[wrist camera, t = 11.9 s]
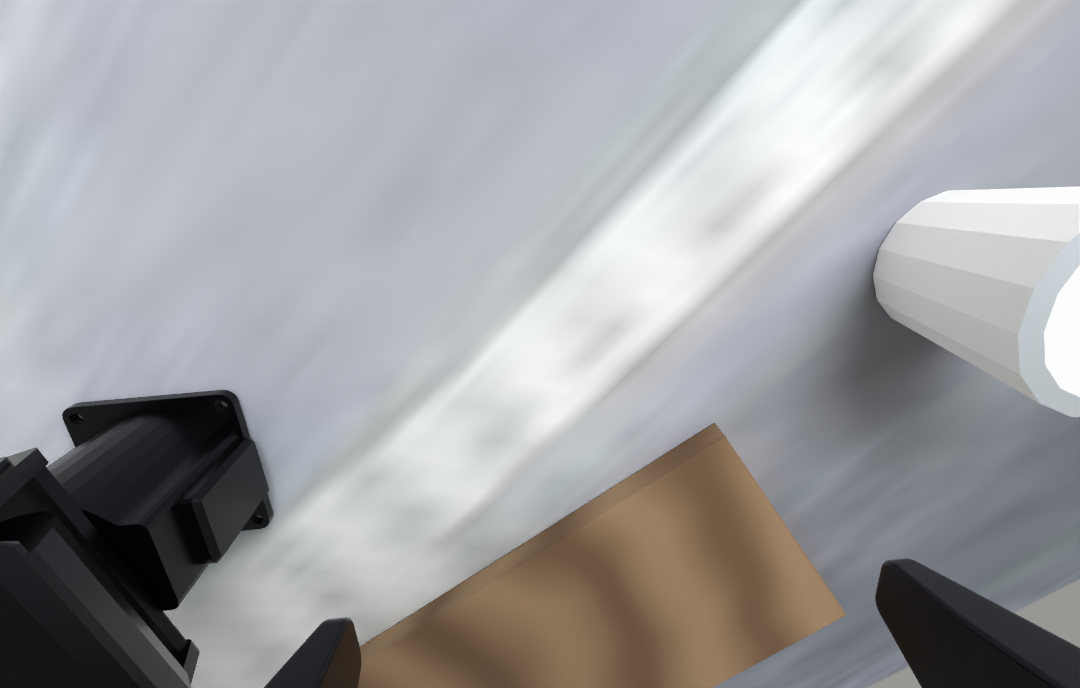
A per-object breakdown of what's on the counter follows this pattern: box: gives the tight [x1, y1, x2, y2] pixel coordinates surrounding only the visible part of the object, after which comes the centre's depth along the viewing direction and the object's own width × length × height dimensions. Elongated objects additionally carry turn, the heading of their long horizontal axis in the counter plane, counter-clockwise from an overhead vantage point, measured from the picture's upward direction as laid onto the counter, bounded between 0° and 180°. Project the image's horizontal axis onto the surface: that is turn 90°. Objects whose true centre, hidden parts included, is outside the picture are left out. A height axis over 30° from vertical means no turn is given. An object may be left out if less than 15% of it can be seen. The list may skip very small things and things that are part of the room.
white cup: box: [873, 187, 1080, 417], centre depth 17 cm, size 7×7×7 cm
